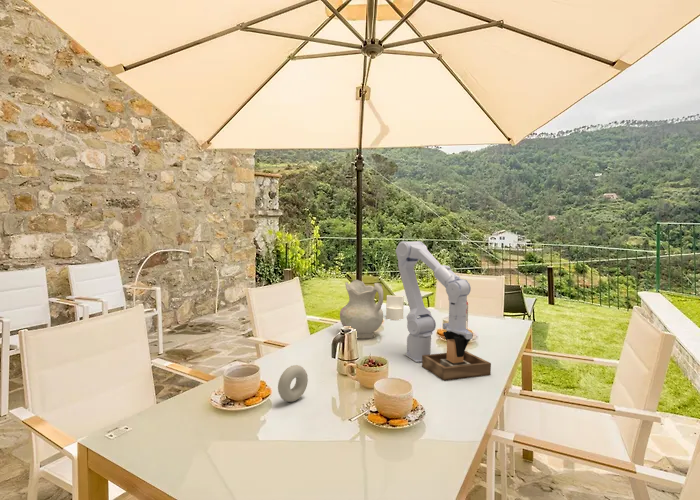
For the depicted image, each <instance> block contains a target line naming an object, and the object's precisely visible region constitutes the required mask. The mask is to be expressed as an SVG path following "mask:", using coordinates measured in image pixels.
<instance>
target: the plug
mask: <svg viewBox="0 0 700 500" xmlns="http://www.w3.org/2000/svg"><path fill="white" fill-rule="evenodd" d="M446 353H447V360H448V361H450V362H452V363H459V362H463V357H457V354H456V344H455V340H454V339H447V341H446Z"/></svg>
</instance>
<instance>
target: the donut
mask: <svg viewBox="0 0 700 500" xmlns="http://www.w3.org/2000/svg"><path fill="white" fill-rule="evenodd" d="M294 379H295V383H294V386H292V388H291V383H292V382H293V380H294ZM308 380H309V379H308V373H307V370H306V369H304V367H303V366H301V365H298V364H294V365H290V366H289V367H287V368H285V370H284V371H283V372H282V373H281V375H280V377H279V380H278V382H277V383H278V384H277V392H278V394H279V396H280V398H281V399H282V401H284V402H289V403H292V402H296V401H298V400H299V399H300V398H301V397H302V396H303V395H304V393H305V392H306V389H307V387H308V383H309V381H308Z"/></svg>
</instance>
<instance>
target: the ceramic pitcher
mask: <svg viewBox="0 0 700 500" xmlns="http://www.w3.org/2000/svg"><path fill="white" fill-rule="evenodd" d="M344 284H345V289H346V292H347V293H348V297H349V298H348V299H349V300H348V303H346V304H345V305H344V306H343V307H342V308H341V309H340V311H339V319H340V322H341V323H340V324H341V325H342V327H344V326H351V327H352V328H354V329H356V331H357V337H358V338H357V339H363V340H364V339H365V340H369V339H373V338H375V334H374V332H376V331H378V330H379V328H380V327H381V325H382V324H383V322H384V311H383V309H382V305H383V303H384V290H383V285H382V284H381V282H374V283H373V284H374V286H373V285H366V284H365V282H364V281H361V280H359V279H354V280H352V281H351V282H350V283H348V282H347V281H346V282H345V283H344ZM377 293H378V301H377V303H376V302H375V297H376V294H377Z"/></svg>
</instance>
